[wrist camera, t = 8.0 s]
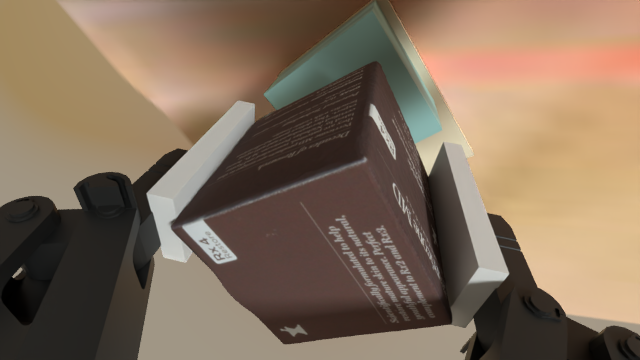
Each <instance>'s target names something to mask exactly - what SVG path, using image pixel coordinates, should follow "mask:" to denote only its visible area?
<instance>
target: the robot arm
mask: <svg viewBox="0 0 640 360" xmlns="http://www.w3.org/2000/svg"><path fill="white" fill-rule="evenodd" d="M254 124H255V104H254V103H249V102H244V101H239V100H238V101H237V102H236V103H235V104H234V105H233V106H232V107H231V108H230V109H229V110H228V111H227V112H226V113H225V114H224V115H223V116H222V117H221V118H220V119H219V120H218V121H217V122H216V123H215V124H214V125H213V126H212V127H211V128H210V129H209V130H208V131H207V132H206V133H205V134H204V135H203V136H202V137H201V138H200V139H199V140H198V142H197V143H196V144H195V145H194V146H193V147H192V148H191V149H190V150H189V151H187V150H183V149H176V150H173V151H172V152H169V153H167V154H165V155H164V156H163V157H162V158H161V159H159V160H158V161H157V162H156V164H154V165H153V166H152V167H151V168H150V169H149V171H147V172H145V173H144V174H143V175H142V176H141V177H140V178H139V179H138V180H137V181H136V182H135V183H133V184H131V181H130V179H129V178H128V177H127V176H126V175H123V174H121V173H115V172H106V173H98V174H95V175H92V176H89V177H87V178H85V179H83V180H82V181H80V182H79V183H78V184H77V185H76V186H75V187H74V188H73V189H74V191H75V193H76V195H77V198H78V200H79V202H80V205H81V207H82V209H71V210H69V209H67V210H57V208H56V206H55V204H54V203H53V201H51V200H50V199H49V198H47V197H42V196H28V197H24V198H19V199H16V200H14V201H11V202H9V203H7V204H5V205H3V206H2V207H0V360H137V358H138V353H139V347H140V341H141V336H142V331H143V325H144V320H145V314H146V309H147V303H148V298H149V293H150V287H151V281H152V276H153V271H154V258H153V255H154V254H155V252H156V251H157V250H158V249H159V247H160V246H161V250H162V253H163V257H164V258H168V259H172V260H177V261H181V262H185V263H186V262H187V260H188V259H189V257H190V255H191V254H192V252H193V251H192V250H191V249H190V248H189V247H188V246H187V245H186V244H185V243H184V242H183V241H182V240H181V239H180V238H179V237H177V236H176V234H175V233H174V232H173V231H172V230H171V225H172V224H173V223H174V221H175V220H176V219H177V217H178V216H179V215H180V214H181V212H182V211H183V210H184V209H185V208H186V207H187V206H188V205H189V204H190V202H191V201H192V199H193V198H194V197H195V195H196V194H197V193H198V191H199V190H200V189H201V188H202V187H203V186H204V185H205V184H206V183H207V181H208V180H209V179H210V178H211V176H212V175H213V174H214V173H215V171H216V170H217V169H218V168H219V166H220V165H221V164H222V163H223V162H224V160H225V159H226V158H227V156H228V155H229V154H230V153H231V152H232V150H233V149H234V147H235V146H236V145H237V144H238V143H239V142H240V140H241V139H242V138H243V137H244V135H245V134H246V133H247V131H248V130H249V129H250V128H251V127H252V126H253V125H254ZM428 181H429V187H430V193H431V199H432V204H433V210H434V216H435V222H436V228H437V234H438V241H439V247H440V253H441V258H442V265H443V271H444V277H445V281H446V290H447V296H448V300H449V304H450V308H451V312H452V323H451V324H450V325H454V326H459V327H463V328H466V326H467V325H468V324H469V323H470V321H471V320H472V319H473V318H474V322H475V326H476V332H475V333H474V334H473V336H472V337H471V338H470V339H469V340H468V341H467V343H466V344H465V345H464V346H463V347H462V349H461V351H460V352H462V353H465V352H466V351H467V353H466V357H465V360H640V336H639V335H638V334H637V333H634V332H632V331H630V330H628V329H626V328H623V327H619V326H610V327H606V328H605V329H604V330H602V331H601V332H600V333H598V332H596V331H594V330H592V329H590V328H588V327H586V326H584V325H582V324H579V323H577V322H576V321H573V320H571V319H570V318H568V317H566V314H565V312H564V310H563V309H562V307H561V306H560V304H559V303H558V302H557V301H556V300H555V299H554V298H553V297H552V296H551V295H549V294H548V293H546V292H545V291H543V290H542V289H540V288H538V287H537V285H536V283H535V281H534V278H533V276H532V274H531V271H530V269H529V267H528V265H527V262H526V260H525V258H524V255H523V253H522V252H520V250H521V249H520V246H519V244H518V242H516V240H517V239H516V237H515V235H514V233H513V230H512V228H511V227H510V226H509V224H508V223H507V222H506V221H505V220H504V219H503V218H502V217H501V216H499V215H494V214H489V213H487V212H486V210H485V207H484V204H483V201H482V199H481V196H480V193H479V191H478V188H477V185H476V183H475V180H474V177H473V174H472V172H471V169H470V166H469V164H468V161H467V158H466V156H465V153H464V150H463V147H462V145H459V144H454V143H449V142H444V141H443V144H442V146H441V148H440V151H439V153H438V155H437V158H436V160H435V162H434V165H433V167H432V169H431V172H430V174H429V177H428ZM20 267H21V268H22V269H23V270H22V271H21V273H20V274H19V275H18V276H16V277H15V278H12V276H13V275H14V274H15V273H16V272H17V270H18V269H19V268H20ZM467 349H468V350H467Z"/></svg>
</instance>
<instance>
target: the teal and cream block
mask: <svg viewBox="0 0 640 360" xmlns="http://www.w3.org/2000/svg"><path fill="white" fill-rule="evenodd" d="M374 61H377V62H379V63H380V64H381V66H382V69H383V72H384V74H385V75H386V79H387V82H388V84H389V85H390V88H391V90H392V92H393V94H394V97H395V99H396V101H397V103H398V105H399V107H400V110H401V112H402V114H403V117H404V119H405V122H406V124H407V126H408V127H409V130H410V133H411V136H412V138H413V140H414V143H415V145H416V148H417V150H418V153H419V155H420V158H421V160H422V162H423V165H424V167H425V170H426V172H427V175H429V174H430V172H431V169H432V167H433V165H434V162H435V160H436V158H437V155H438V153H439V151H440V148H441V146H442V144H443V141H444V142H449V143H454V144H459V145H462V147H463V150H464V153H465V156H466V158H469V157H471V156H474V153H473V150H472V148H471V146H470V144H469V143H468V141H467V139H466V137H465V135H464V134H463V132H462V130H461V128H460V126H459V125H458V123H457V121H456V119H455V117H454V116H453V114H452V112H451V110H450V108H449V107H448V105H447V103H446V101H445V100H444V98H443V96H442V94H441V92H440V91H439V89H438V87H437V85H436V83H435V82H434V80H433V78H432V76H431V74H430V73H429V71H428V69H427V67H426V65H425V64H424V62H423V60H422V58H421V57H420V55H419V53H418V51H417V49H416V48H415V46H414V44H413V42H412V40H411V39H410V37H409V35H408V33H407V31H406V30H405V28H404V26H403V24H402V22H401V21H400V19H399V17H398V15H397V13H396V12H395V10H394V8H393V6H392V5H391V3H390V1H389V0H371V1H370V2H369V3H367V4H366V5H365V6H364V7H362V8H361V9H360V10H359V11H357V12H356V13H355V14H353V15H352V16H351V17H350V18H348V19H347V20H346V21H345V22H343V23H342V24H341V25H339V26H338V27H337V28H336V29H334V30H333V31H332V32H331V33H329V34H328V35H327V36H326V37H324V38H323V39H322V40H320V41H319V42H318V43H317V44H315V45H314V46H313V47H312V48H310V49H309V50H308V51H306V52H305V53H304V54H303V55H301V56H300V57H299V58H298V59H296V60H295V61H294V62H292V63H291V64H290V65H289V66H287V67H286V68H285V69H284V70H282V71H281V72H280V73H279V75H278V78H277V79H276V80H275V81H274V83H273V84H272V85H271V86H270V87H269V88H268V90H267V91H266V92H265V93H264V94H263V95H264V96H265V97H266V98H267V99H268V101H269V102H270V103H271V104H272V106H273V107H274V108H275V109H276V110H278V109H281V108H282V107H284V106H286V105H288V104H290V103H292V102H294V101H296V100H298V99H300V98H302V97H304V96H306V95H308V94H310V93H312V92H314V91H316V90H318V89H320V88H322V87H324V86H326V85H328V84H330V83H332V82H334V81H336V80H338V79H340V78H342V77H343V76H345V75H347V74H349V73H351V72H353V71H355V70H357V69H359V68H361V67H362V66H365V65H367V64H369V63H371V62H374Z"/></svg>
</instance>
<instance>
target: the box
mask: <svg viewBox="0 0 640 360" xmlns="http://www.w3.org/2000/svg"><path fill="white" fill-rule="evenodd" d="M171 230H172V231H173V232H174V233H175V234H176V236H177V237H179V238H180V239H181V240H182V241H183V242H184V243H185V244H186V245H187V246H188V247H189V248H190V249H191V250H192V251H193V252H194V253H195V254H196V255H197V256H198V257H199V258H200V259H201V260H202V261H203V262H204V263H205V264H206V265H207V266H208V267H209V268H210V269H211V270H212V271H213V272H214V274H215V275H216V276H217V277H218V279H219V280H220V282H221V283H222V285H223V286H224V288H225V289H226V290H227V292H228V293H229V294H230V295H231V296H232V297H233V298H234V299H235V300H236V301H238V302H239V303H240V304H241V305H242V306H244V307H245V308H246V309H248V310H249V311H251V312H252V313H253V314H255V316H257V317H258V318H259V319H260V320H261V321H262V322H263V323H264V324H265V325H266V326H267V327H268V328H269V329H270V330H271V331H272V333H273V334H274V335H275V336H276V337H277V338H278V339H280V341H281V342H282V343H283V344H294V343H302V342H309V341H316V340H322V339H332V338H339V337H347V336H355V335H364V334H373V333H381V332H389V331H390V332H391V331H401V330H408V329H417V328H426V327H434V326H441V325H449V324H451V323H452V312H451V308H450V304H449V300H448V296H447V290H446V281H445V277H444V271H443V265H442V258H441V253H440V247H439V241H438V234H437V228H436V222H435V216H434V210H433V204H432V199H431V193H430V187H429V181H428V175H427V172H426V170H425V167H424V165H423V162H422V160H421V158H420V155H419V153H418V150H417V148H416V145H415V143H414V140H413V138H412V136H411V133H410V130H409V127H408V126H407V124H406V122H405V119H404V117H403V114H402V112H401V110H400V107H399V105H398V103H397V101H396V99H395V97H394V94H393V92H392V90H391V88H390V85H389V84H388V82H387V79H386V75H385V74H384V72H383V69H382V66H381V64H380V63H379V62H377V61H374V62H371V63H369V64H367V65H365V66H362V67H361V68H359V69H357V70H355V71H353V72H351V73H349V74H347V75H345V76H343V77H342V78H340V79H338V80H336V81H334V82H332V83H330V84H328V85H326V86H324V87H322V88H320V89H318V90H316V91H314V92H312V93H310V94H308V95H306V96H304V97H302V98H300V99H298V100H296V101H294V102H292V103H290V104H288V105H286V106H284V107H282V108H281V109H278V110H276V111H273V112H272V113H269V114H268V115H266V116H264V117H262V118H261V119H260V120H258V121H256V122H255V124H254V125H253V126H252V127H251V128H250V129H249V130H248V131H247V133H246V134H245V135H244V137H243V138H242V139H241V140H240V142H239V143H238V144H237V145H236V146H235V147H234V149H233V150H232V152H231V153H230V154H229V155H228V156H227V158H226V159H225V160H224V162H223V163H222V164H221V165H220V166H219V168H218V169H217V170H216V171H215V173H214V174H213V175H212V176H211V178H210V179H209V180H208V181H207V183H206V184H205V185H204V186H203V187H202V188H201V189H200V190H199V191H198V193H197V194H196V195H195V197H194V198H193V199H192V201H191V202H190V204H189V205H188V206H187V207H186V208H185V209H184V210H183V211H182V212H181V214H180V215H179V216H178V217H177V219H176V220H175V221H174V223H173V224H172V225H171Z"/></svg>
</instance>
